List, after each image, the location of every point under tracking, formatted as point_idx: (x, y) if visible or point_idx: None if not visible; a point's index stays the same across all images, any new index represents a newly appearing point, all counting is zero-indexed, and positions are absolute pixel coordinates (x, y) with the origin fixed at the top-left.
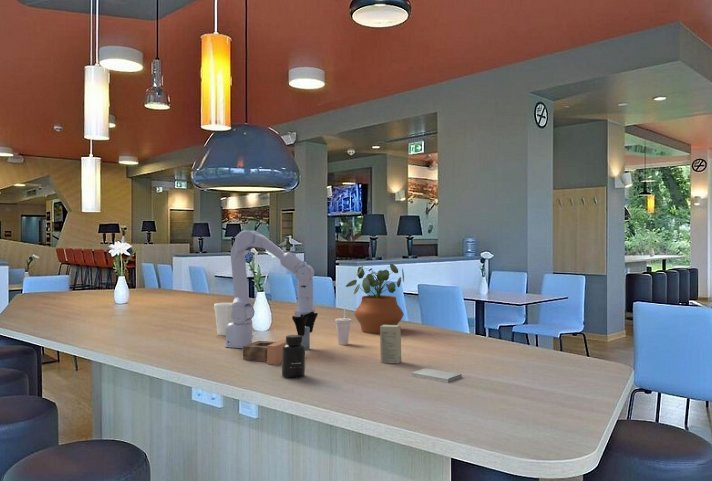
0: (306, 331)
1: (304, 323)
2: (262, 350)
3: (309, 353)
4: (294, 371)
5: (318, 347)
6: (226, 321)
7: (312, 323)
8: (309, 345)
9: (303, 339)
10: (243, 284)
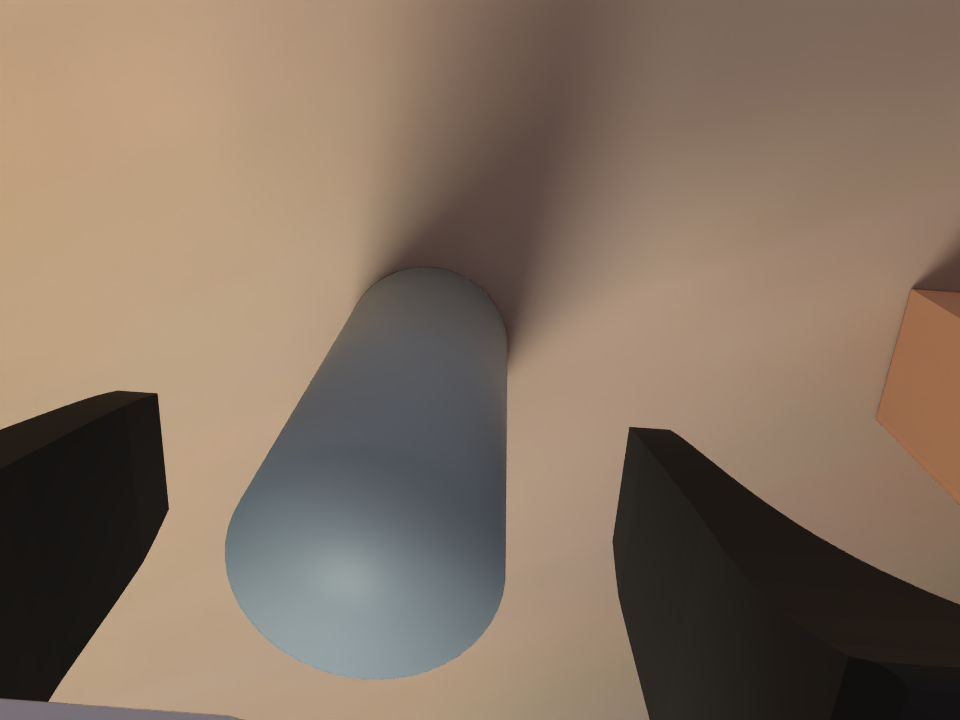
0: (476, 446)
1: (887, 580)
2: None
3: (803, 132)
4: None
5: (215, 162)
6: None
7: (4, 491)
8: (409, 285)
9: (505, 419)
10: None
